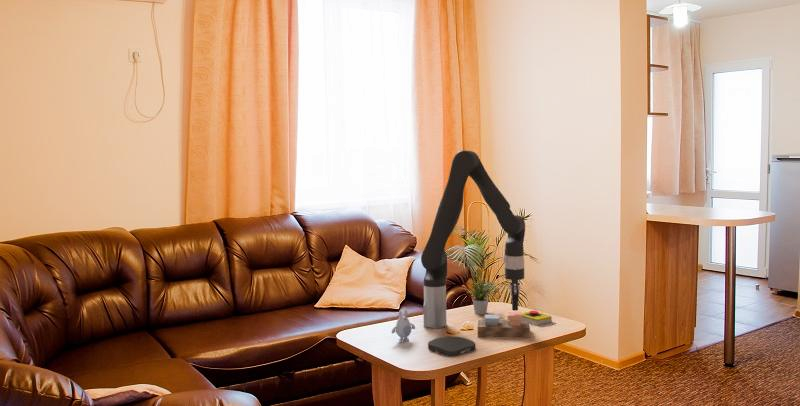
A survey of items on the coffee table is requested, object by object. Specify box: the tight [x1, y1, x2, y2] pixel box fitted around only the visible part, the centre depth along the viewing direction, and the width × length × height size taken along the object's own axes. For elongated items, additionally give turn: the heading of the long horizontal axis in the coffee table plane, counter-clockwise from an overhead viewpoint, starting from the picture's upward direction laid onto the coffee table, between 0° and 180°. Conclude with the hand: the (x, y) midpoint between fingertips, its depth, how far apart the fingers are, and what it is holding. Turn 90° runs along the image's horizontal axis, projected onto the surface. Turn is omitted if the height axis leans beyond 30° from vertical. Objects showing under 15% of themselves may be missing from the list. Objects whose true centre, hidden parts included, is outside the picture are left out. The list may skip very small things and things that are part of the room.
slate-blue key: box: [484, 313, 500, 325], centre depth 232 cm, size 6×6×4 cm
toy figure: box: [391, 309, 416, 343], centre depth 225 cm, size 11×6×12 cm, turn 121°
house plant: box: [467, 276, 496, 315], centre depth 261 cm, size 14×14×16 cm
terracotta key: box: [507, 311, 523, 326], centre depth 231 cm, size 6×6×4 cm
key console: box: [477, 319, 531, 339], centre depth 232 cm, size 20×10×4 cm, turn 81°
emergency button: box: [521, 310, 556, 328], centre depth 248 cm, size 9×4×15 cm
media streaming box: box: [427, 336, 477, 358], centre depth 215 cm, size 15×15×3 cm
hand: (515, 310), depth 230 cm, fingers closed
